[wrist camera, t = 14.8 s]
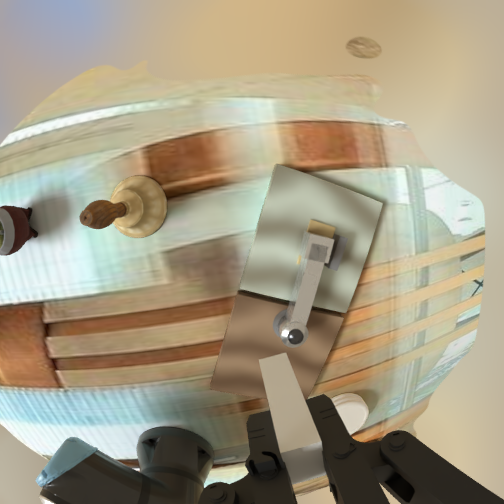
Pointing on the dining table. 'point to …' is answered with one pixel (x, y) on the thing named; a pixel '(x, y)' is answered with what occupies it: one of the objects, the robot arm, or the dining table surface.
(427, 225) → the dining table surface
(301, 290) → the swing bar
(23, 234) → the mate gourd
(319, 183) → the door board
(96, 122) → the dining table surface
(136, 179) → the hand bell
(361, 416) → the coaster
